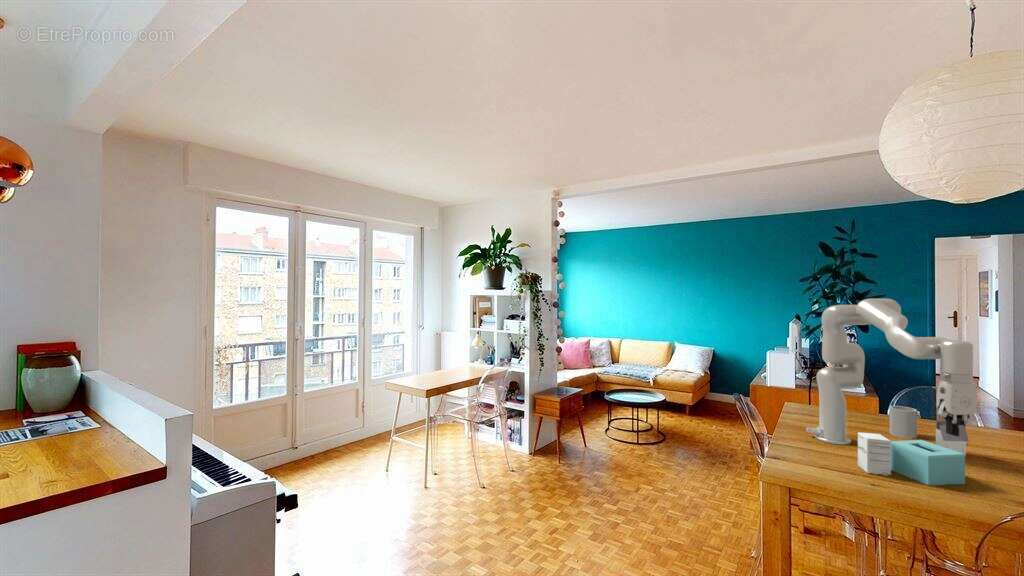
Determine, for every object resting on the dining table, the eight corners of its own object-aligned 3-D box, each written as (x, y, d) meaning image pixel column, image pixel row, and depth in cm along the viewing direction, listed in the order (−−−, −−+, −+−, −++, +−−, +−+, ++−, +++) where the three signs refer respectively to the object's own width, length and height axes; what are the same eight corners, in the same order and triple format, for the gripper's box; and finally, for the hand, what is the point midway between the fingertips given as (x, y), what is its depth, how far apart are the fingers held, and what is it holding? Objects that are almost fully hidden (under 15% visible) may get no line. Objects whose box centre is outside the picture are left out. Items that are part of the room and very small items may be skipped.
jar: (962, 459, 169) (962, 428, 169) (933, 452, 175) (933, 423, 175) (968, 454, 173) (968, 424, 173) (940, 448, 180) (940, 419, 180)
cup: (888, 430, 203) (888, 404, 203) (915, 434, 198) (915, 407, 198) (891, 435, 196) (891, 409, 196) (918, 439, 191) (918, 412, 191)
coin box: (928, 485, 146) (928, 455, 146) (887, 468, 160) (887, 441, 160) (965, 483, 148) (965, 454, 148) (922, 466, 161) (922, 439, 161)
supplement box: (857, 465, 163) (857, 431, 163) (880, 468, 160) (880, 433, 160) (866, 473, 155) (866, 438, 156) (891, 476, 153) (891, 440, 153)
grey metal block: (962, 441, 139) (958, 425, 141) (943, 440, 145) (938, 424, 146) (969, 441, 139) (964, 425, 141) (949, 440, 145) (944, 424, 147)
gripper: (947, 381, 138) (946, 439, 138) (991, 380, 139) (990, 437, 139) (922, 376, 145) (921, 431, 145) (964, 375, 147) (963, 429, 147)
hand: (955, 434), depth 142 cm, fingers closed on grey metal block, 1 cm apart
